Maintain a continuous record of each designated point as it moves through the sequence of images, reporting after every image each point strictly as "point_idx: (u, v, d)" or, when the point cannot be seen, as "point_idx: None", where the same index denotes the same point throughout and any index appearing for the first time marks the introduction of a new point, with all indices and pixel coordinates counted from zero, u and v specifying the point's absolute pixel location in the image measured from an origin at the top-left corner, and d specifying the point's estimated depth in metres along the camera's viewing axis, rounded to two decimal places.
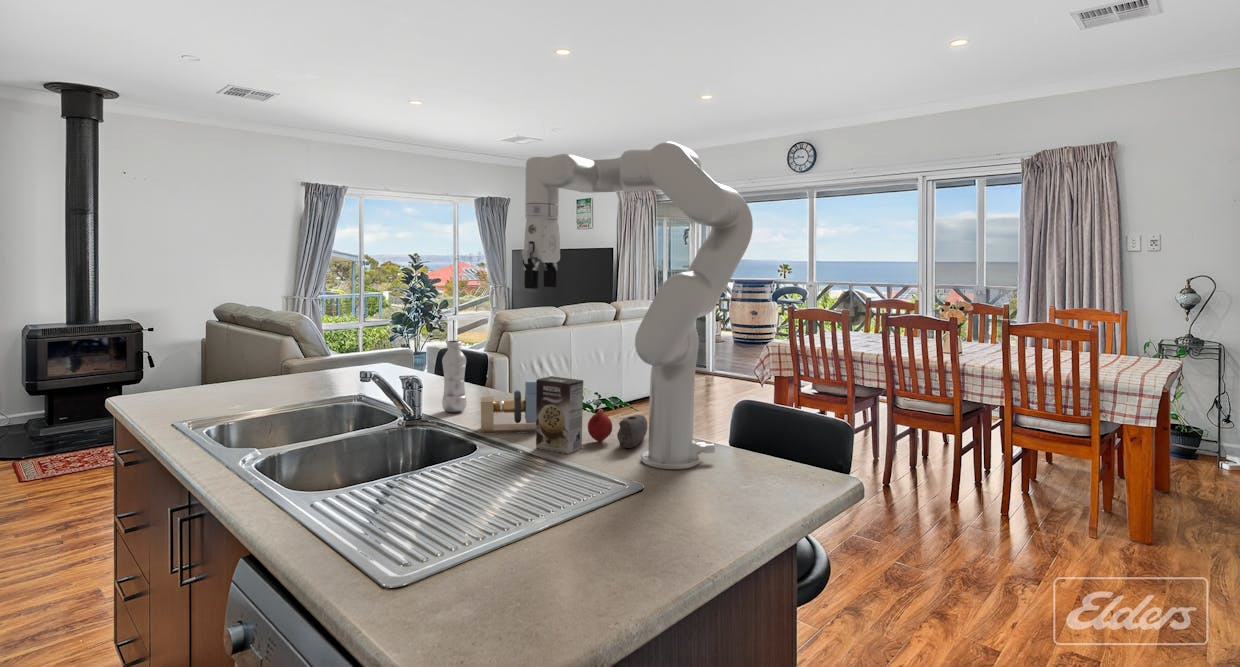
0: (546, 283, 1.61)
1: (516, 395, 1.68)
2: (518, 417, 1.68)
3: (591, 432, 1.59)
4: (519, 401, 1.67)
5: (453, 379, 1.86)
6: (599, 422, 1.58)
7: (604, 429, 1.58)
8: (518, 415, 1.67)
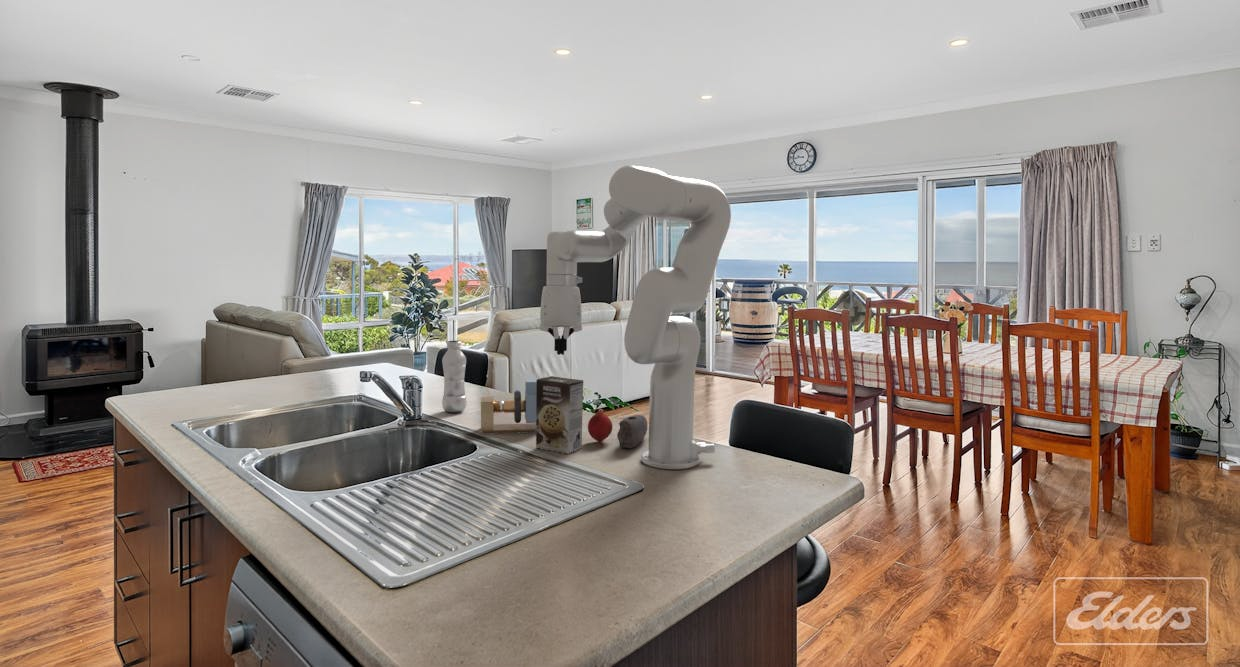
0: None
1: (516, 395, 1.68)
2: (518, 417, 1.68)
3: (591, 432, 1.59)
4: (519, 401, 1.67)
5: (453, 379, 1.86)
6: (599, 422, 1.58)
7: (604, 429, 1.58)
8: (518, 415, 1.67)
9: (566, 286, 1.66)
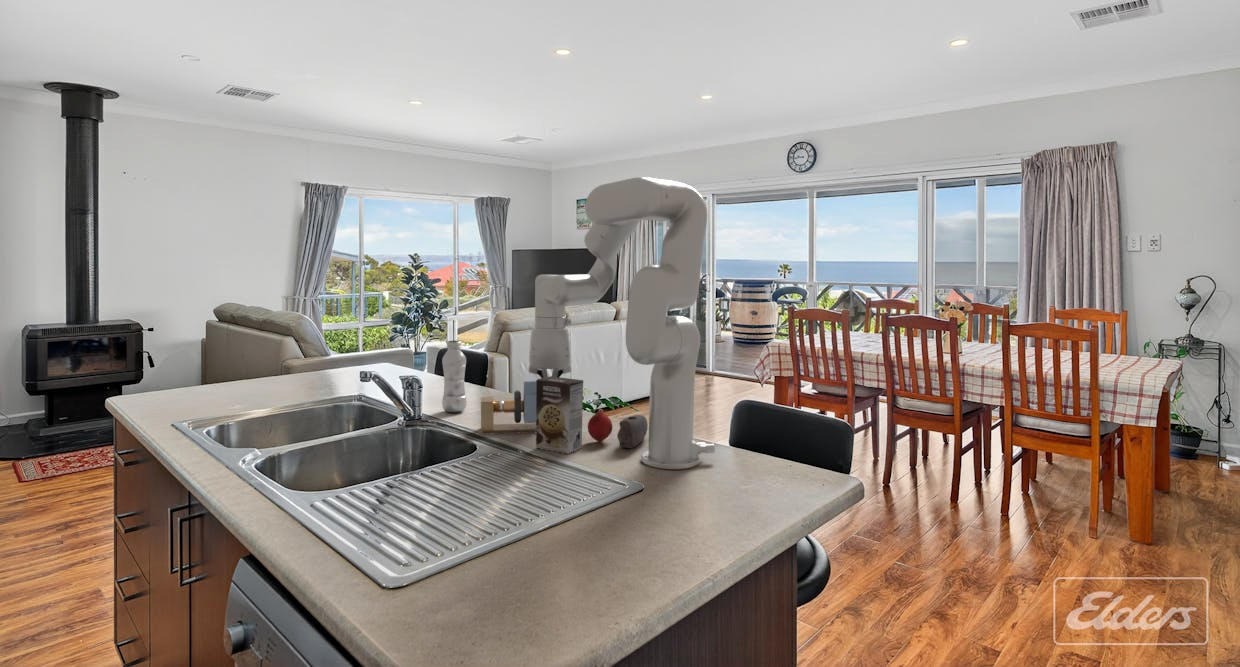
0: None
1: (516, 395, 1.68)
2: (518, 417, 1.68)
3: (591, 432, 1.59)
4: (519, 401, 1.67)
5: (453, 379, 1.86)
6: (599, 422, 1.58)
7: (604, 429, 1.58)
8: (518, 415, 1.67)
9: (554, 329, 1.67)
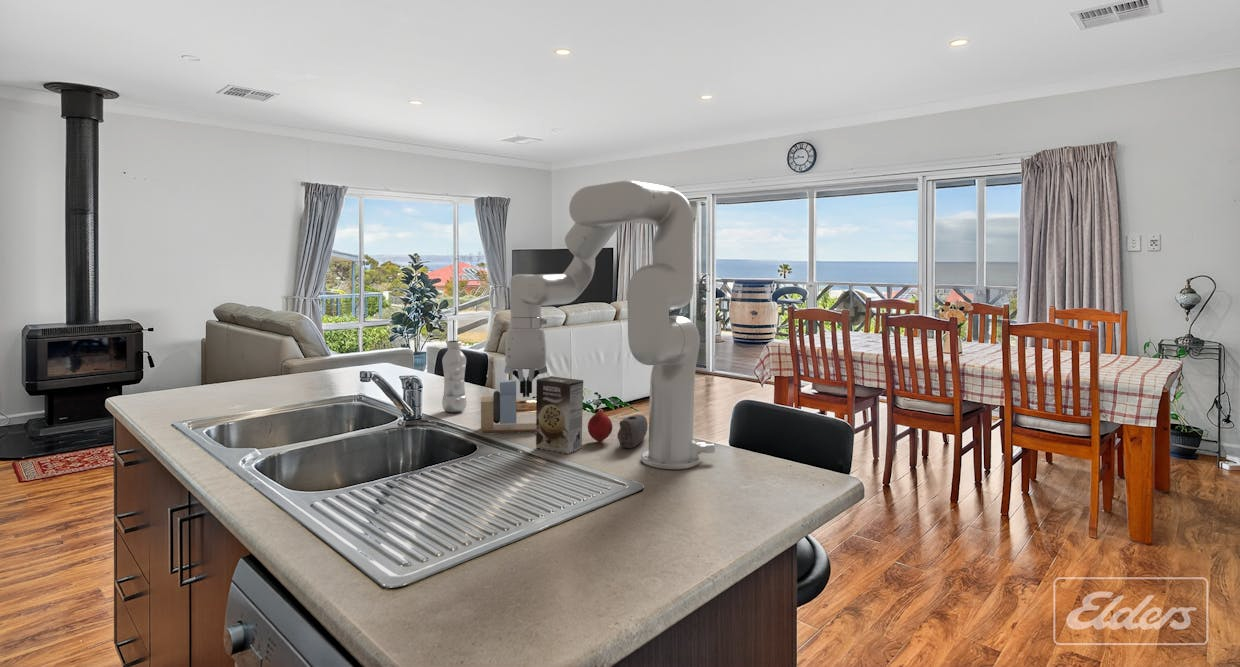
0: None
1: (495, 395, 1.67)
2: (497, 418, 1.67)
3: (591, 432, 1.59)
4: (498, 401, 1.66)
5: (453, 379, 1.86)
6: (599, 422, 1.58)
7: (604, 429, 1.58)
8: (497, 416, 1.66)
9: (530, 329, 1.66)
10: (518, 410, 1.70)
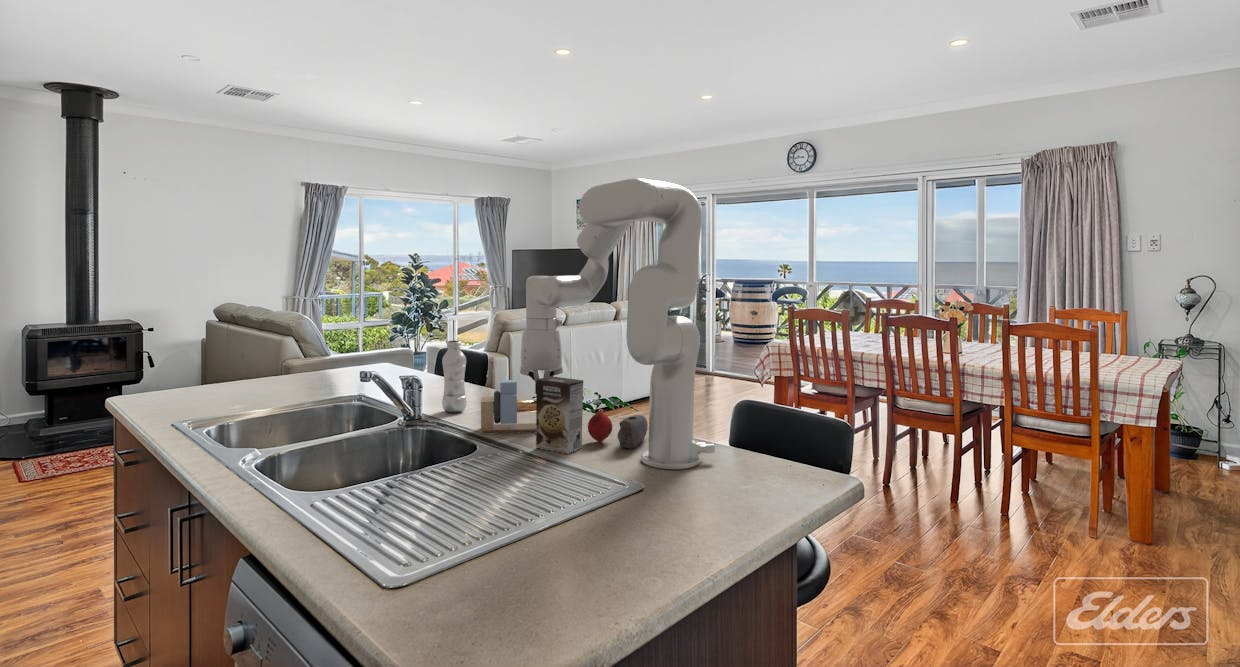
0: None
1: (495, 395, 1.67)
2: (497, 418, 1.67)
3: (591, 432, 1.59)
4: (498, 401, 1.66)
5: (453, 379, 1.86)
6: (599, 422, 1.58)
7: (604, 429, 1.58)
8: (497, 416, 1.66)
9: (546, 330, 1.66)
10: (518, 410, 1.70)
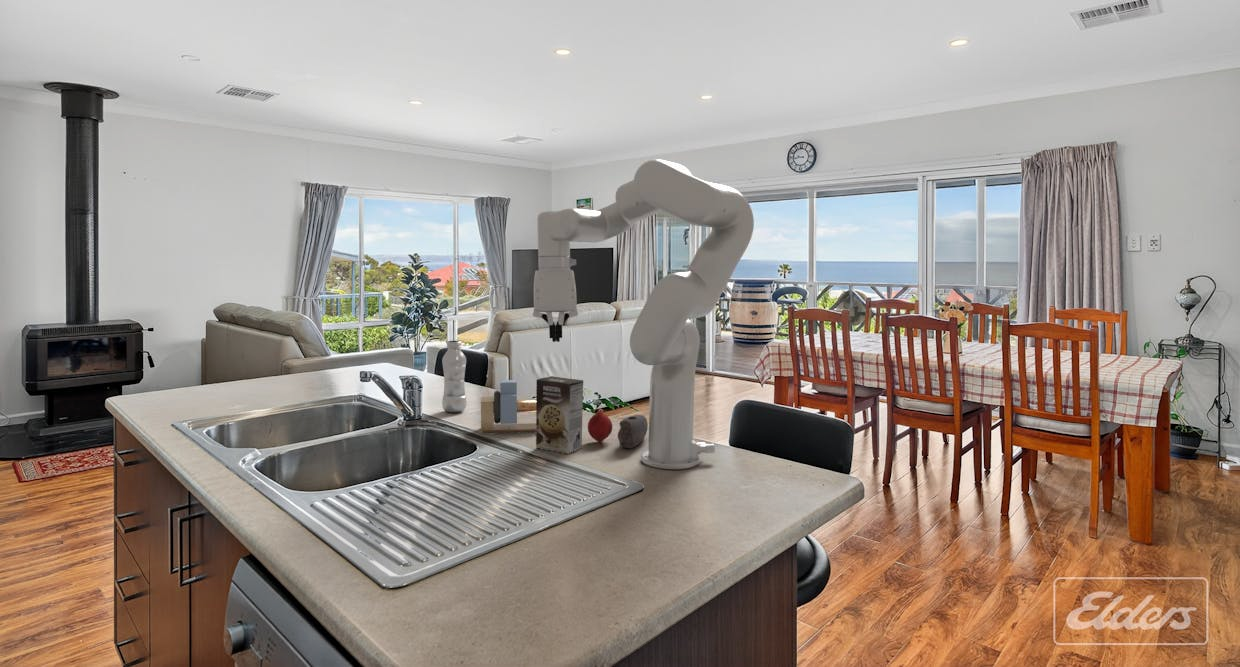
0: None
1: (495, 395, 1.67)
2: (497, 418, 1.67)
3: (591, 432, 1.59)
4: (498, 401, 1.66)
5: (453, 379, 1.86)
6: (599, 422, 1.58)
7: (604, 429, 1.58)
8: (497, 416, 1.66)
9: (559, 268, 1.57)
10: (518, 410, 1.70)
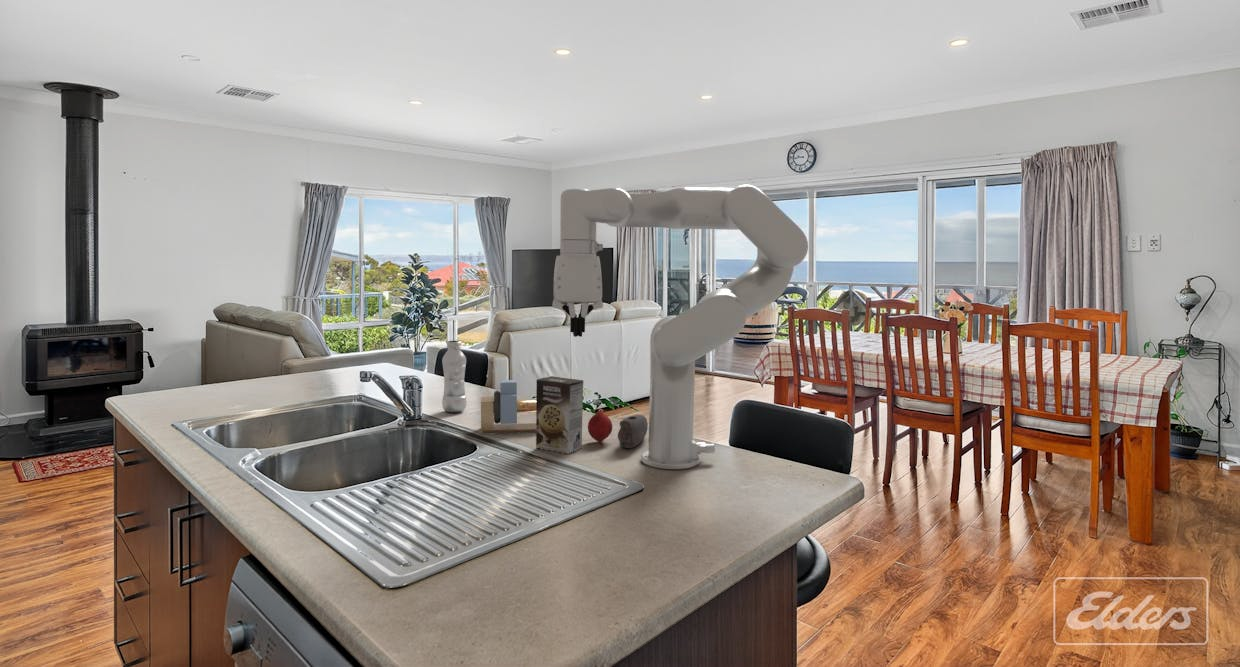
0: None
1: (495, 395, 1.67)
2: (497, 418, 1.67)
3: (591, 432, 1.59)
4: (498, 401, 1.66)
5: (453, 379, 1.86)
6: (599, 422, 1.58)
7: (604, 429, 1.58)
8: (497, 416, 1.66)
9: (584, 254, 1.39)
10: (518, 410, 1.70)
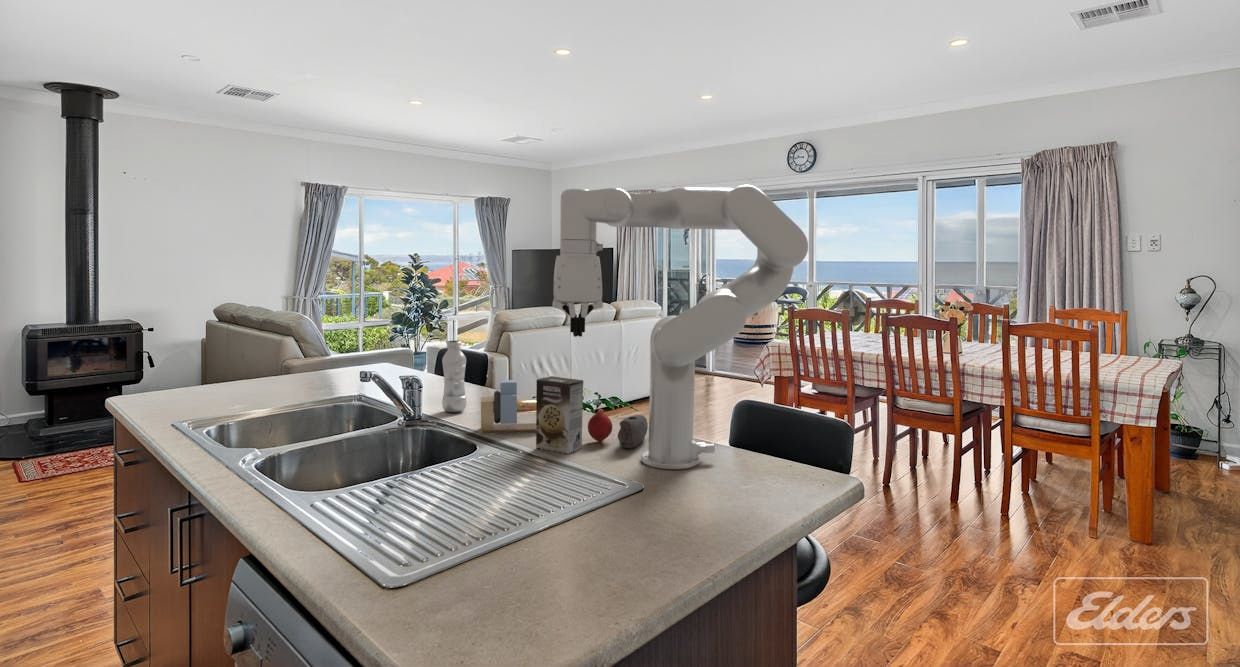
0: None
1: (495, 395, 1.67)
2: (497, 418, 1.67)
3: (591, 432, 1.59)
4: (498, 401, 1.66)
5: (453, 379, 1.86)
6: (599, 422, 1.58)
7: (604, 429, 1.58)
8: (497, 416, 1.66)
9: (584, 254, 1.39)
10: (518, 410, 1.70)
